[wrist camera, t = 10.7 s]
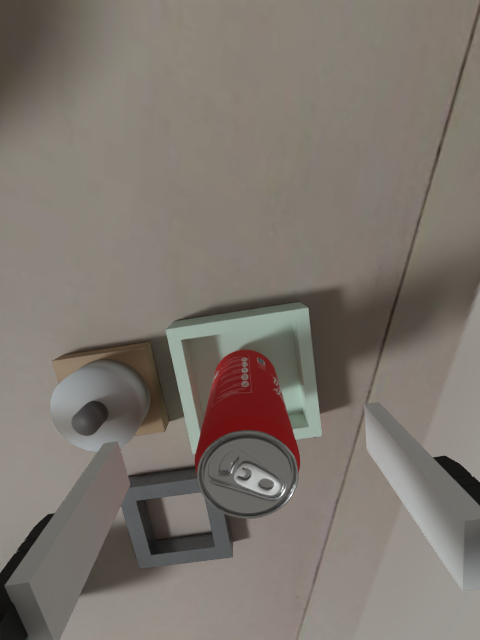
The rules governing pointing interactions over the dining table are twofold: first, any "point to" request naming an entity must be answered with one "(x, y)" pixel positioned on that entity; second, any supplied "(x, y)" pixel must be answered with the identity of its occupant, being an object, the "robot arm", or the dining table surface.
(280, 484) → the beverage can
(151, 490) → the frame
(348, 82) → the dining table surface
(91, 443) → the service bell
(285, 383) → the tray
